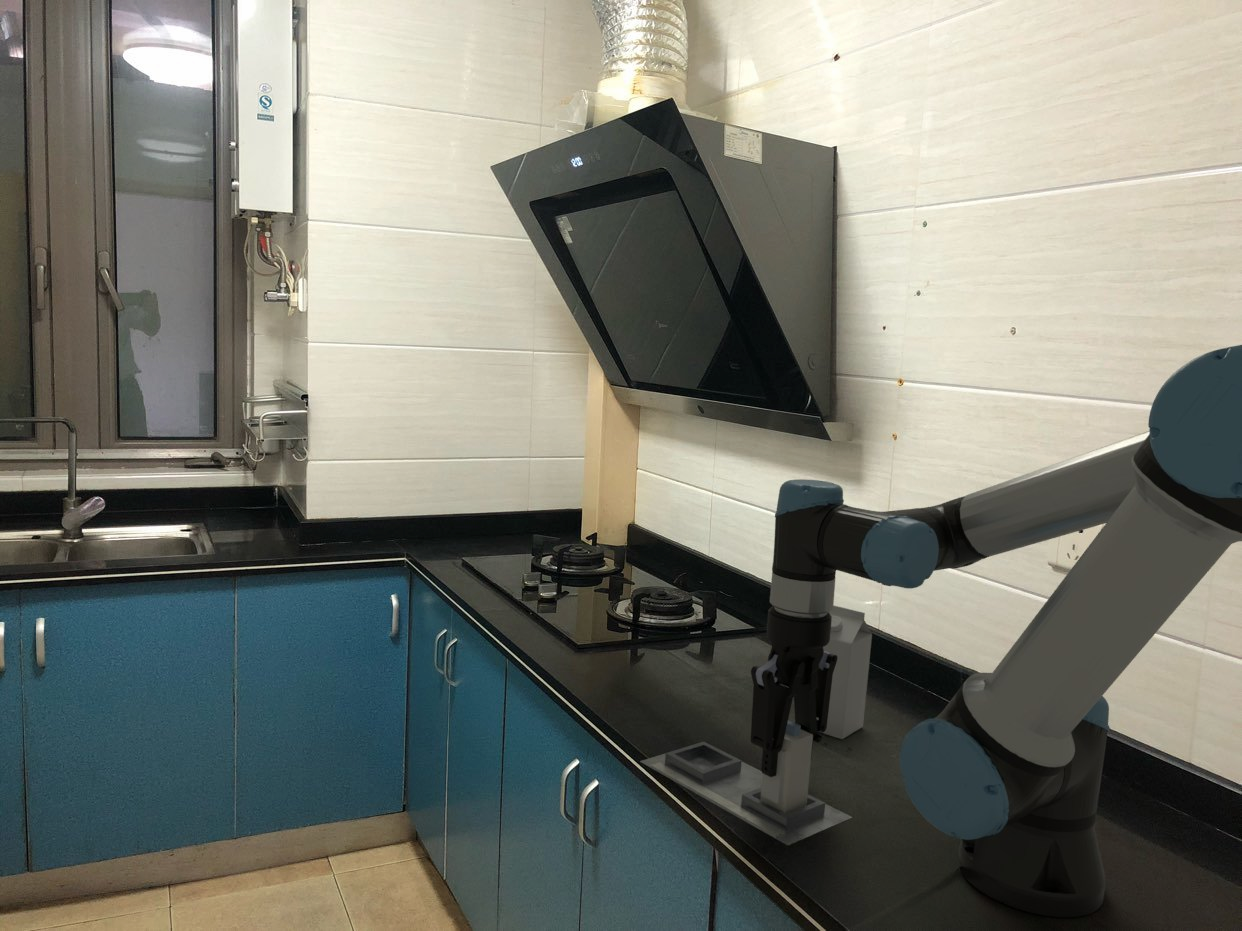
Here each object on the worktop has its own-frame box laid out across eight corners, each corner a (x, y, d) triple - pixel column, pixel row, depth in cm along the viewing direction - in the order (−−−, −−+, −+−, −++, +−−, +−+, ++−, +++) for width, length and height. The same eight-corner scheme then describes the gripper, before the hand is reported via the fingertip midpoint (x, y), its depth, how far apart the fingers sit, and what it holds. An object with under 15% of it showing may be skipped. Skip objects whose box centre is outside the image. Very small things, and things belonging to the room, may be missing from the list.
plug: (806, 812, 118) (813, 725, 117) (784, 821, 116) (792, 732, 114) (781, 799, 121) (788, 714, 120) (759, 807, 119) (767, 720, 117)
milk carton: (821, 714, 154) (832, 598, 151) (863, 727, 149) (874, 608, 147) (799, 726, 148) (810, 606, 146) (842, 740, 144) (854, 617, 141)
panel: (851, 824, 118) (853, 805, 118) (787, 853, 110) (789, 832, 110) (702, 748, 138) (703, 731, 138) (639, 768, 130) (640, 750, 130)
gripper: (820, 593, 124) (805, 766, 127) (728, 610, 113) (713, 799, 116) (869, 607, 118) (852, 788, 121) (776, 627, 107) (760, 825, 110)
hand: (784, 793), depth 118 cm, fingers closed on plug, 4 cm apart
